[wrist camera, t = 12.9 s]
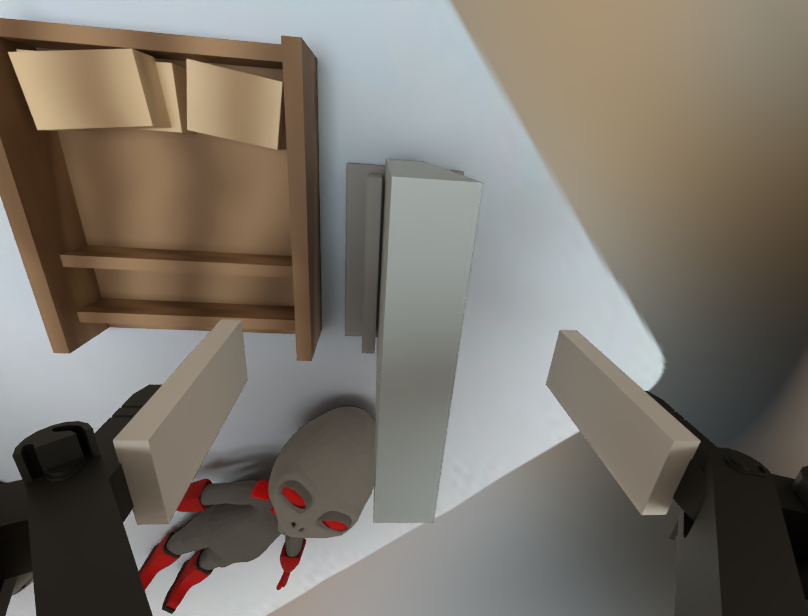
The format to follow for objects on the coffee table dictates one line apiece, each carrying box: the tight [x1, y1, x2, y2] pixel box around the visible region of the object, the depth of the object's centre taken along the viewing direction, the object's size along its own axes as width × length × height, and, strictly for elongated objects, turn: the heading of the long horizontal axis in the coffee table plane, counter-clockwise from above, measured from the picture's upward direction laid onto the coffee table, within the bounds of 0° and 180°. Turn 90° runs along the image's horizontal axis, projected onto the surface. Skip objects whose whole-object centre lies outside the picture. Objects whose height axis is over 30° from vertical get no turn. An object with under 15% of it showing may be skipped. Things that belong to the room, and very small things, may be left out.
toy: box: [139, 406, 376, 614], centre depth 35 cm, size 16×10×30 cm
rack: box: [0, 18, 322, 361], centre depth 24 cm, size 17×19×5 cm
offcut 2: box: [16, 49, 197, 134], centre depth 22 cm, size 8×4×2 cm, turn 86°
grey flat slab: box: [373, 159, 483, 523], centre depth 21 cm, size 14×3×16 cm, turn 176°
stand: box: [345, 163, 464, 353], centre depth 27 cm, size 13×8×4 cm, turn 176°
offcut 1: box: [8, 49, 172, 131], centre depth 20 cm, size 6×4×2 cm, turn 92°
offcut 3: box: [187, 59, 287, 150], centre depth 22 cm, size 5×4×3 cm
